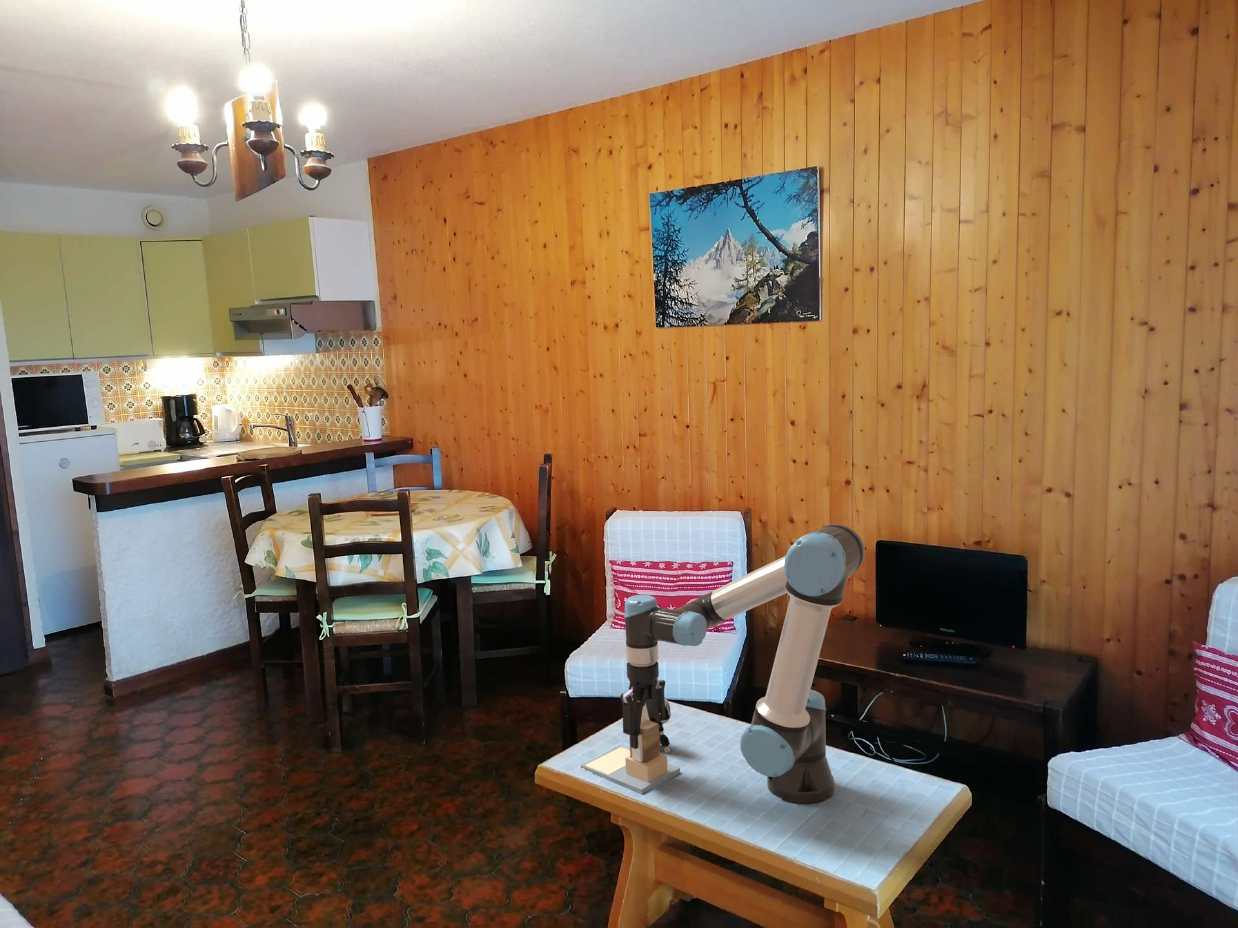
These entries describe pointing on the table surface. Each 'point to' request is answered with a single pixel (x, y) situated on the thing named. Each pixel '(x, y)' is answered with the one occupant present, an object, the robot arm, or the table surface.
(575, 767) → the table surface
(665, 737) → the robot toy
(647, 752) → the walnut block
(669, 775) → the board
